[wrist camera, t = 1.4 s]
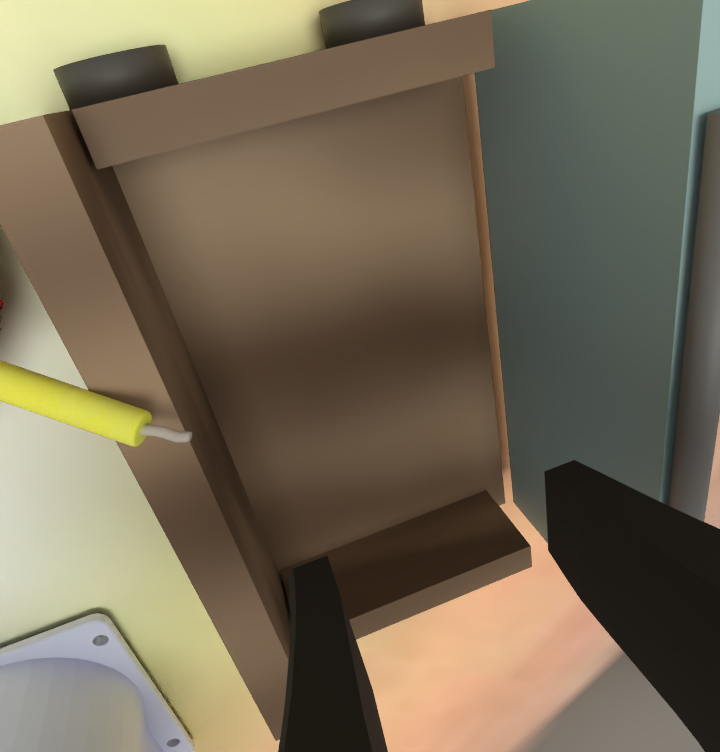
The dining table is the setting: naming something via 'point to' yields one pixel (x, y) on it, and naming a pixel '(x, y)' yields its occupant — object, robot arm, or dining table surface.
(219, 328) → the cart bed
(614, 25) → the panel
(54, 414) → the cupcake
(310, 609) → the robot arm
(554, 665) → the dining table surface
